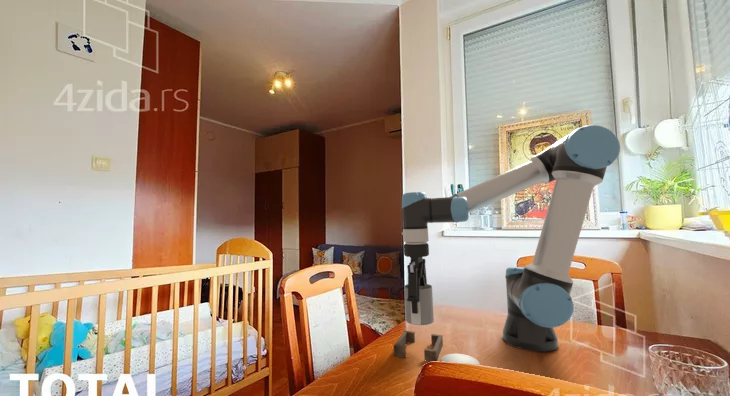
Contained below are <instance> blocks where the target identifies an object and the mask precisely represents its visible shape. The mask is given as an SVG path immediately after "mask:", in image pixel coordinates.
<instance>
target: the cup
mask: <svg viewBox="0 0 730 396" xmlns="http://www.w3.org/2000/svg"><path fill="white" fill-rule="evenodd" d="M403 288H404V289H403V291H404V310H405V312H404V314H405V315H404V316H405V322H407V323H408V324H410V325H415V326H416V324H411V306H410V301H407V299H408V283H407V284H405V285H404V286H403ZM412 297H414V296H412ZM433 299H434V298H433V285H431V284H428V283H427V284H425V286H420V287H419V301H420V309H421V325H420V326H427V325H431V324H433V323H434V322H435V317H434V303H433V301H434V300H433Z"/></svg>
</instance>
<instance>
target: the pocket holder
mask: <svg viewBox="0 0 730 396" xmlns="http://www.w3.org/2000/svg"><path fill="white" fill-rule="evenodd" d="M430 336H431V337H430V338H431V339H430V340H431V346H433V349H431V348H430V349H429V348H424V349H423V354H424V355H423V356H424V361H425V360H426V361H428V363H431V362H430V361H437V362H438V360H439V357H440V355H441V352H442V349H443V346H444V344H443V343H444V341H443V338H444V337H443V334H435V333H432V334H431V335H430ZM415 342H416V336H415V331H413V330H412V331H411V330H404V331H403V332H402V334H401V335H400V336H399V338H398V339H397V341H396V342H395V344H394V345H393V356H394V357H396V358H402V359H403V358H404V359H405V358H406V357H407V345H406V344H407V343H415ZM439 354H440V355H439ZM426 361H425V362H426Z"/></svg>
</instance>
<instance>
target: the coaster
mask: <svg viewBox="0 0 730 396" xmlns="http://www.w3.org/2000/svg"><path fill="white" fill-rule="evenodd" d="M441 361H445V362H457V363H469V364H478V365H481V364H480V361H478V360H477V358H475V357H473V356H471V355H467V354H463V353H449V354H445V355H443V356H442V357H441V359H440V362H441Z"/></svg>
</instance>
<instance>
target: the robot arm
mask: <svg viewBox="0 0 730 396" xmlns="http://www.w3.org/2000/svg"><path fill="white" fill-rule="evenodd" d="M620 143H621V142H620V141H619V138H618V137H617V136H616V135H615V133H614V132H613V131H612V130H610V129H609V128H608V127H605V126H603V125H596V124H587V125H584V126H581V127H578V128H575V129H574V130H572V131H571V132H569V133H568V134H567V135H566V136H564V137H562V138H561V139H559V140H558V141H556V142H554V143H553V144H551V145H550V146H549V147H547V148H546V149H544V150H543V151H540V153H537V154H535V155H533V156H531V157H530V160H529V161H528V162H525V163H523V164H521V165H518V166H516V167H514V168H512V169H510V170H507V171H505V172H503V173H500V174H499V175H496V176H494V177H492V178H489V179H487V180H485V181H482V182H480V183H478V184H476V185H473V186H471V187H470V188H467V189H465V190H463V191H461V192H458V193H455V194H454V195H452V196H449V197H448V196H447V197H437V198H436V197H434V198H431V197H430V198H429V197H428V198H427V194H426V192H425V191H413V192H412V191H411V192H406V193H403V194H402V197H401V215H402V217H401V218H402V220H401V221H402V229H403V230H402V232H401V235H402V236H403V242H404V245H403V255H404V256H405V257H407V258H408V257H409V258H410V262H409V263H408V265H407V284H408V299H407V301H410V306H411V324H410V325H413V324H416V325H417V326H422V325H421V309H420V301H419V287H420V286H425V284H428V280H427V269H426V258H425V257H427V256H429V255H430V249H429V248H430V246H429V243H428V242H429V227H428V224H431V223H441V224H442V223H455V224H456V223H462V222H463V223H464V222H468V219H469V214H470V213H472V212H474V211H475V212H476V211H477V210H480V209H482V208H484V207H486V206H489V205H491V204H493V203H496V202H498V201H501V200H503V199H506V198H508V197H510V196H513V195H515V194H517V193H519V192H522V191H524V190H526V189H528V188H529V189H530V188H531V187H534V186H536V185H538V184H541V183H542V184H549V183H551V182H554V181H555V184H554V186H553V189H552V193H551V197H550V201H549V204H548V208H547V211H546V214H545V218H544V221H543V225H542V228H541V232H540V234H539V238H538V243H537V245H536V249H535V252H534V255H533V259H532V262H531V263H528V264H526V265H524V266H515V267H514V266H510V267H507V268H506V270H505V283H506V285H505V286H506V301H507V302H506V303H507V304H506V305H507V314H506V319H505V322H504V326H503V329H502V339H503V341H505V342H506V343H507V344H509V346H513V347H515V348H517V349H518V348H519V349H520V350H521V349H522V350H526V351H532V352H543V353H544V352H546V353H547V352H552V351H554V350H557V349H558V347H559V343H558V336H557V333H556V331H555V329H554V328H557V327H560V326H563V325H565V324H567V322H568V321H570V319H571V318H572V316H573V314H574V308H575V307H574V302H573V299H572V296H571V295H570V294H571V293H572V288H573V285H574V280H573V279H572V278H571V276H570V274H569V273H570V269H571V266H572V263H573V259H574V256H575V253H576V248H577V245H578V241H579V238H580V234H581V231H582V228H583V224H584V221H585V218H586V214H587V210H588V207H589V204H590V200H591V197H592V193H593V189H594V187H596V186H597V185H600V184H601V183H603V180H604V178H605V176H606V175H605V174H606V170H607V167H608V166H611V165H612V164H613V163H614V162H615V161H616V160H617V159H618V157H619V155H620V152H621V144H620ZM412 296H414V297H412ZM416 325H415V326H416Z"/></svg>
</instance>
